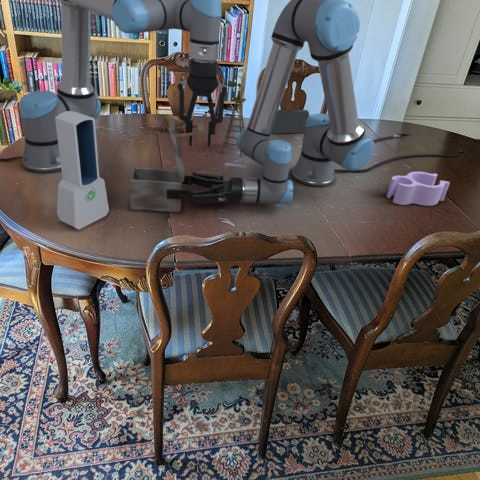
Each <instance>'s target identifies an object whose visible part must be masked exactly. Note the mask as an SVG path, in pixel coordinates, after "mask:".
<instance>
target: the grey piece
mask: <svg viewBox="0 0 480 480" xmlns="http://www.w3.org/2000/svg"><path fill="white" fill-rule="evenodd" d="M181 129H185V130H186V126H181V125H180V126H178V125H176V121H175V119H173V120H171V125H170V132H169V136H170V139H171V143H172V144H171V145H172V149H173V155H174V159H175V163H176V168H177V169H176V170H178V174H179V179H180V182H184V176H186V175H185V173H186V166H185V161H184V157H183V151H182V147H181V142H180V138H185V137H189V136H192V137H193V136H197V137H201V138H202V137H203V136H204V123H203V122H202V121H198V122H197V123H195V124H193V126H192V129H196V131H192V133H184V132H183V133H179V132H178V131H182V130H181Z"/></svg>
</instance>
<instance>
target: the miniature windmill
mask: <svg viewBox="0 0 480 480" xmlns="http://www.w3.org/2000/svg"><path fill="white" fill-rule="evenodd" d="M245 80H246V73H245V72H243V73H242V79H240V82H241V83H237V82H236V81H233V80H229V79H228V82H227V83H228V84H227V88H228V87H229V88H235V87H238V91H237V95H236V96H234V97H233V98H232V99H231V101H232V102H234V104H233V107H232V108H233V109H232V111H231V115H230V118H229V123H228V126H227V130H226V134H225V135H224V141H223V142H222V144H223V146H222V148H221V153H223V152H224V149H225V146H228V145H229V146H236V147H237V145H236V143H235V144H234V143H229V139H235V140H236V139H237V137H234V136H230V135H231V132H233V133H240V132H242V131H243V130H245V124H244V114H243V107H244V106H243V104H242V103H245V102H246V101H247V98H245V97H243V96H244V91H245V87H246V86H245V84H246V82H245ZM236 109H237V110H238V111H239V114H235V113H236ZM234 117H238V118H234ZM234 120H235V121H239V125H235V124H233V122H234ZM232 127H234V128H239V130H234V129H232ZM239 152H240V156H243V153H242V152H241V151H240V150H239Z"/></svg>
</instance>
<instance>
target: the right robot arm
mask: <svg viewBox="0 0 480 480" xmlns="http://www.w3.org/2000/svg"><path fill="white" fill-rule="evenodd" d="M360 23H361V22H360V17H359V13H358V11H357V9H356V8H355V7H354V5H352V3H350V2H348V1H346V0H289V2H288V3H287V4H286V5H285V6H284V7H283V9H282V11H281V12H280V14H279V16H278V18H277V19H276V22H275V25H274V27H273V30H272V32H271V33H272V34H271V36H270V39H271V41H272V46H271V48H270V52H269V55H268V58H267V61H266V65H265V68H264V71H263V75H262V77H261V82H260V84H259V87H258V92H257V93H256V97H255V101H254V104H253V106H252V110H251V114H250V117H249V120H248V124H247V127H246V129H244V130H243V131H242V130H241V131H242V132H239V134H238V135H237V137H236V138H237V139H235V140H236V141H235V144H236V145H237V146H236V147H237V150H239V152H240V151H241V152H242V155H245V156H246V157H247V158H249V159H251V160H253V162H255V163H257V164H258V165H259V166H261V167H262V168H263V171H262V178H260V177H259V178H258V177H244V178H242V177H237V176H231V177H230V178H229V180H228V181H227V180H224V176H223V175H215V174H208V173H201V172H192V174H190V175H184V182H182V185H186V186H188V185H189V186H192V185H196V186H200V187H203V188H205V189H200V190H195V191H193V190H192V189H182V190H173V189H167V199H182V200H188V201H189V202H190V203H191V204H192V205H202V204H204V205H205V204H225V202H226V199H227V198H228V201H229V202H231V203H240V202H243V203H248V204H252V203H254V204H255V203H256V204H272V205H273V204H274V205H284V204H285V205H287V204H288V205H289V204H290V203H291V202H292V200H293V197H294V183H293V181H292V180H290V179H288V177H289V172H290V165H291V160H292V150H293V147H292V144H291V143H290V142H288V141H286V140H282V139H271V140H269V139H270V137H271V134H270V133H271V130H272V127H273V124H274V121H275V118H276V115H277V112H278V110H280V106H281V104H282V100H283V97H284V94H285V92H286V89H287V85H288V83H289V82H288V81H289V79H290V77H291V73H292V70H293V67H294V64H295V62H296V58H297V56H298V52H299V51H302V50H303V48H304V45H305V43H306V42H307V46H308V50H309V53H310V57H311V59H312V60H314V61H315V62H317V65H318V71H319V75H320V80H321V85H322V90H323V95H324V96H323V97H324V101H325V106H326V111H327V113H314V114H311V115H310V114H309V117H308V118H307V122H306V126H305V131H304V132H303V138H302V144H301V150H300V155H299V158H298V160H297V162H296V164H295V165H294V166H293V168H292V173H291V176H292V178H293V179H294V180H295V181H297V182H299V183H301V184H304V185H306V186H309V187H327V186H330V185H332V184H333V183H334V182H335V177H336V176H335V173H365V172H369V171H372V170H373V169H375V168H377V167H379V166H381V165H383V164H387V163H389V162H392V161H396V160H400V159H406V158H417V157H457V156H459V155H460V154H457V153H456V154H457V155H444V154H445V153H420V154H419V153H418V154H417V153H415V154H406V155H400V156H395V157H392V158H388V159H386V160H383V161H381V162H379V163H376V164H373V165H371V166H370V167H368V168H365V169H364V167H365V166H366V165H367V164H368V163H369V161H370V160H371V158H372V157H373V154H374V152H375V142H373V140H374V139H372V138H371V137H367V135H366V129H365V125H364V123H363V122H362V121H361V120H359V116H358V110H357V102H356V95H355V87H354V82H353V74H352V68H351V62H350V61H351V60H350V52H352V50H353V48H354V43H355V42H356V41H357V39H358V35H357V34H358V33H359V32H360ZM463 150H464V149H461V150H459V152H462V151H463ZM465 153H466V152H465V150H464V152H462V154H465ZM334 163H335V164H337V165H339V166H340V167H341V168H343V169H339V168H338V169H337V168H336V169H335V168H334V167H335V165H334ZM362 168H363V169H362Z"/></svg>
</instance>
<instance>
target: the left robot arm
mask: <svg viewBox="0 0 480 480" xmlns="http://www.w3.org/2000/svg"><path fill="white" fill-rule="evenodd" d="M57 1H58V2H59V3H60V13H61V14H60V21H61V23H60V25H61V26H60V27H61V31H60V32H61V81H59V82H58V83H57V86H56V87H57V89H56V90H57V91H56V92H57V93H56V92H54V91H51V90H41V91H40V90H37V91H32V92H29V93H26V94H24V95H23V96H22V97H21V98H20V100H19V103H18V104H19V116H20V119H21V125H22V132H23V136H24V148H23V153H22V155H21V156H13V157H8V158H5V157H3V158H2V157H1V158H0V161H1V162H9V161H14V160H21V159H22V160H21V161H22V166H23V168H24V169H25V170H27V171H29V172H33V173H39V174H46V173H56V172H61V171H62V170H61V162H60V154H59V146H58V138H57V130H56V122H55V117H57V116H58V115H59V114H61V113H63V112H66V111H74V112H78V113H81V114H84V115H86V116H89V117H92V118H95V121H97V119H99V117H100V114H101V112H102V111H101V110H102V102H101V100H100V99H99V98H100V97H99V94H98V92H96V91H95V88H94V86H93V85H92V84H91V83H90V81H91V80H90V79H91V77H90V73H91V72H90V71H91V70H90V69H91V33H92V32H91V31H92V29H91V26H92V13H94V14H97V15H99V16H101V17H103V18H105V19H108V20H110V21H112V22H113V23H114V24H115V26H116V27H117V28H118V30H119V31H120V32H122V33H124V34H133V35H139V34H142V33H149V32H157V31H169V30H180V31H183V32H189V53H188V54H189V58H190V59H189V60H188V76H187V78H186V80H183V81H180V80H179V81H178V82H177V85H176V86H177V89H178V92H179V100H178V101H179V102H178V104H179V105H178V106H179V108H178V109H179V110H178V112H179V113H178V116H179V119H180V120H183V121H185V122H186V129H185V132H186V133H192V132H193V128H192V126H193V125H194V124H193V123H194V120H191V116H192V113H193V114H194V109H195V105H196V102H197V99H198V97H201V96H202V97H204V98H205V97H206V100H207V104H208V111H209V116H210V120H209V121H208V128H207V129H208V130H207V147H208V148H210V147H211V144H212V136H215V134H216V126H217V124H219V123H220V124H221V123H223V118H224V107H225V96H226V94H227V91H228V85H226V84H222V83H220V82H219V80H218V71H219V70H218V69H219V62H218V61H217V60H219V56H220V55H219V52H220V32H221V22H222V16H223V15H222V14H223V12H222V0H57ZM187 86H188V88H189V89H190V91H191V92H192V95H191V98H190V101H189V105H188V108H187V110H188V112H187V116H186V115H184V112H185V91H186V90H187ZM217 89H218V93H219V97H218V98H219V99H218V111H217V116H216V113H215V108H214V102H213V96H212V94H213V93H214V92H215V91H216V90H217ZM188 146H191V147H192V146H193V136H188Z"/></svg>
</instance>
